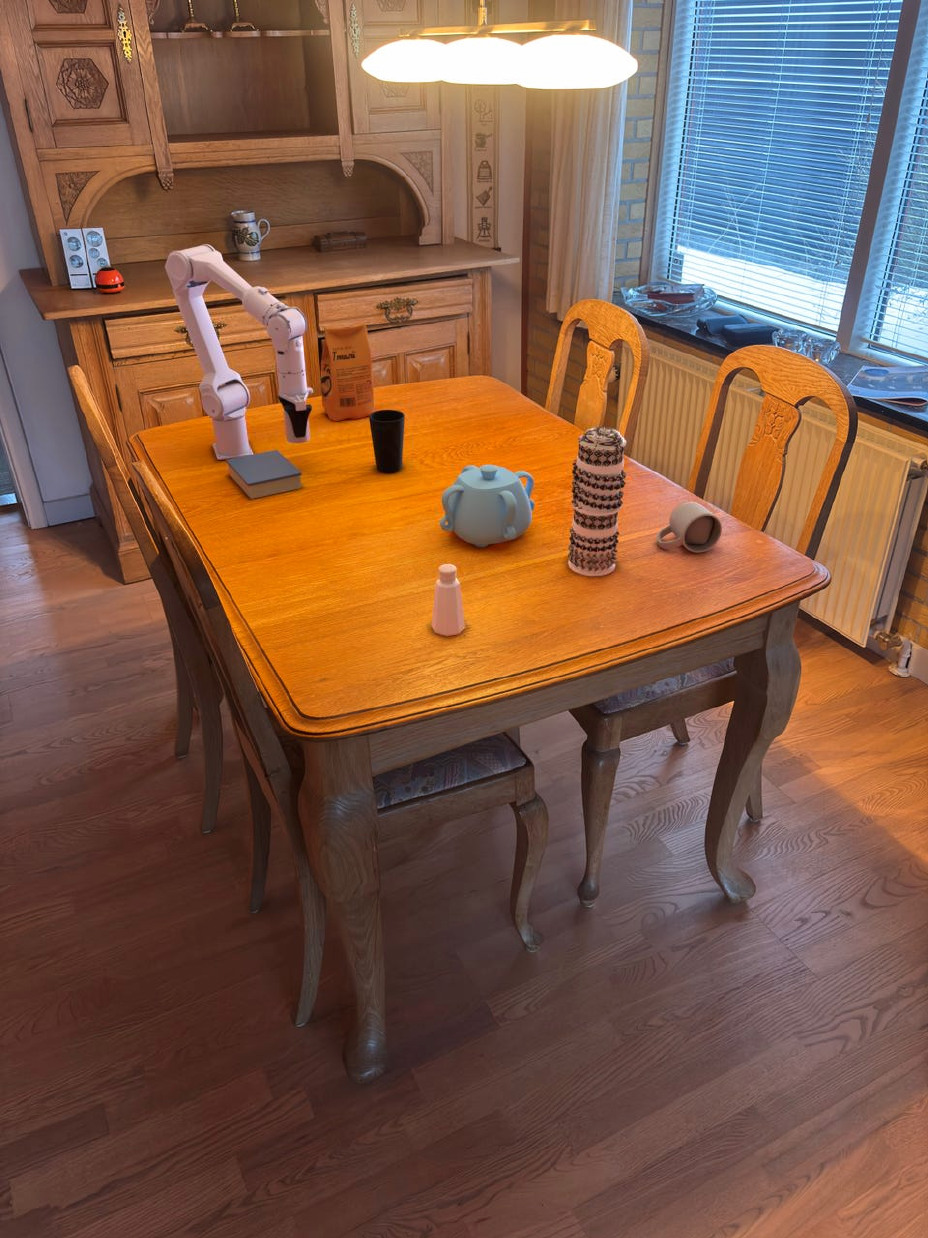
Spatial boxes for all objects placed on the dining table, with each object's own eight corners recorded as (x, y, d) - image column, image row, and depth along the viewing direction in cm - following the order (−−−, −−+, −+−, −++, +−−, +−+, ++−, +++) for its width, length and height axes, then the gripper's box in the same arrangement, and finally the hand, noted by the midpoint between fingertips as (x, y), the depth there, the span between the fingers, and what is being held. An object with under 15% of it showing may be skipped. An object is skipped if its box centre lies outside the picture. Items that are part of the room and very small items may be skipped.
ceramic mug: (700, 531, 178) (705, 494, 174) (719, 550, 171) (725, 512, 167) (648, 537, 176) (652, 500, 172) (666, 557, 169) (670, 519, 165)
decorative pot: (510, 560, 168) (513, 491, 161) (431, 543, 174) (430, 475, 167) (542, 524, 181) (545, 458, 174) (467, 509, 187) (467, 445, 179)
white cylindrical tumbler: (284, 436, 202) (281, 409, 198) (307, 433, 203) (304, 407, 200) (289, 444, 198) (286, 417, 195) (312, 441, 199) (309, 414, 196)
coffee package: (319, 410, 236) (312, 322, 224) (366, 404, 240) (361, 317, 228) (330, 423, 228) (323, 333, 216) (378, 416, 232) (374, 327, 221)
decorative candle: (555, 562, 168) (562, 430, 154) (592, 548, 172) (602, 418, 159) (590, 582, 162) (601, 446, 148) (627, 567, 166) (642, 433, 153)
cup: (409, 462, 207) (407, 410, 201) (403, 475, 201) (401, 422, 195) (375, 460, 208) (372, 408, 202) (368, 474, 202) (365, 421, 195)
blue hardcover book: (227, 475, 201) (225, 459, 199) (278, 464, 206) (277, 449, 204) (250, 499, 191) (247, 483, 189) (303, 488, 195) (301, 472, 194)
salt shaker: (450, 614, 153) (449, 555, 147) (472, 628, 149) (472, 568, 143) (424, 626, 150) (422, 566, 144) (446, 640, 146) (445, 579, 140)
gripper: (318, 377, 188) (323, 441, 195) (303, 358, 199) (308, 419, 207) (283, 381, 186) (290, 446, 193) (270, 361, 197) (277, 422, 204)
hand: (297, 432), depth 200 cm, fingers closed on white cylindrical tumbler, 5 cm apart
